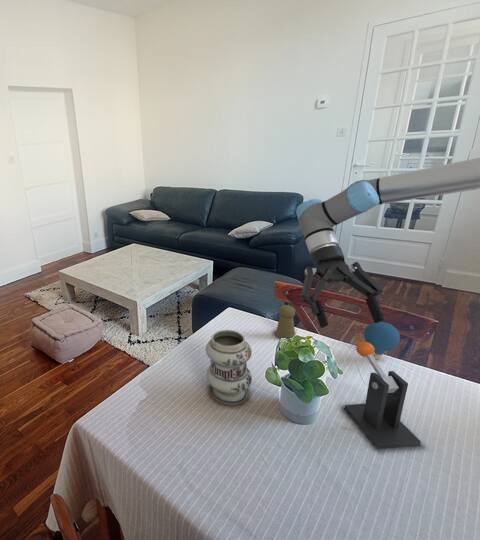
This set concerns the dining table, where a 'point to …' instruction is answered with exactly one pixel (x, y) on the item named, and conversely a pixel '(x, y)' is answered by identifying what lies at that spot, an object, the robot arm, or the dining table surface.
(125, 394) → the dining table surface
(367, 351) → the switch lever
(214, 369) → the apothecary jar
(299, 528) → the dining table surface
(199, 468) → the dining table surface
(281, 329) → the cork
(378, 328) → the light bulb
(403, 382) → the switch bracket
